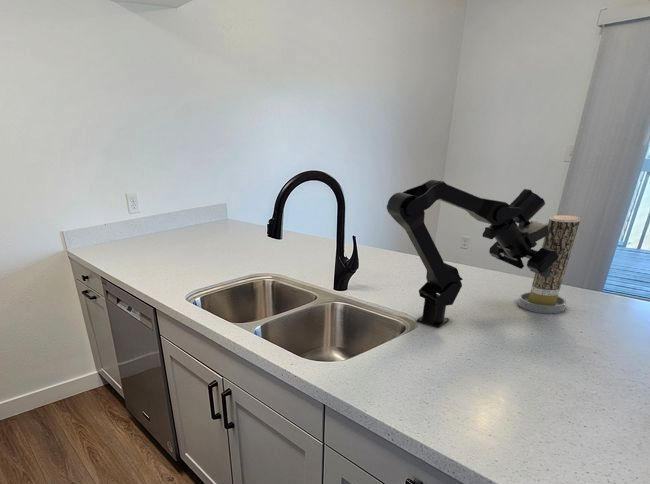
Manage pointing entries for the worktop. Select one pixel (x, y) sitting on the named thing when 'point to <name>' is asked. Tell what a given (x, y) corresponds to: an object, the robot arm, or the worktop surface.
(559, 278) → the paper tube
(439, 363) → the worktop surface
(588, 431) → the worktop surface
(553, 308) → the stand
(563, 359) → the worktop surface
